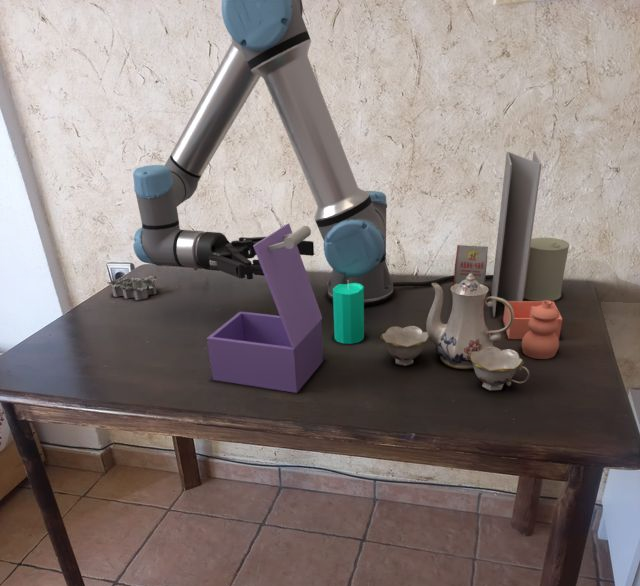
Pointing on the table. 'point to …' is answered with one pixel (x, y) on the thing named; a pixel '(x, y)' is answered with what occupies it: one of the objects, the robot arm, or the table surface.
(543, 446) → the table surface
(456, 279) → the small printed carton
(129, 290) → the egg carton
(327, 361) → the table surface
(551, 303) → the pottery
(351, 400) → the table surface
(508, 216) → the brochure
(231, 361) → the box
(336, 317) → the candle
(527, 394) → the table surface
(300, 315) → the lid
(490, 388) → the chinaware
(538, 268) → the can
